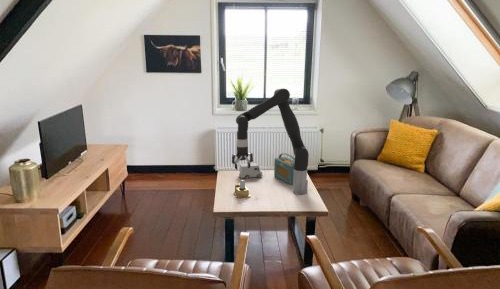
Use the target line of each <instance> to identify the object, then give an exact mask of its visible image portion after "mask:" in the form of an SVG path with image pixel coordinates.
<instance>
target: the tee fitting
mask: <svg viewBox="0 0 500 289" xmlns="http://www.w3.org/2000/svg"><path fill="white" fill-rule="evenodd" d="M249 193H250V192H249V188H248V187H247V186H245V190H240V183H238V184H234V193H233V194H234V196H235V197H236V199H238V200H239V199H247V198H248V199H249V198H251V197H252V196H251V194H249Z"/></svg>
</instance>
